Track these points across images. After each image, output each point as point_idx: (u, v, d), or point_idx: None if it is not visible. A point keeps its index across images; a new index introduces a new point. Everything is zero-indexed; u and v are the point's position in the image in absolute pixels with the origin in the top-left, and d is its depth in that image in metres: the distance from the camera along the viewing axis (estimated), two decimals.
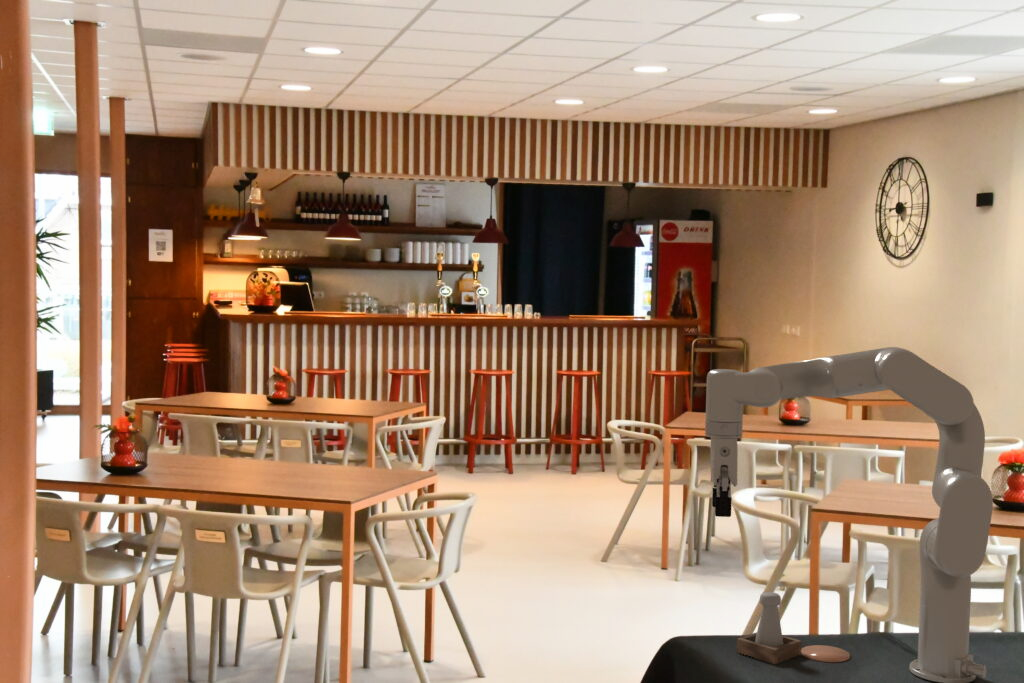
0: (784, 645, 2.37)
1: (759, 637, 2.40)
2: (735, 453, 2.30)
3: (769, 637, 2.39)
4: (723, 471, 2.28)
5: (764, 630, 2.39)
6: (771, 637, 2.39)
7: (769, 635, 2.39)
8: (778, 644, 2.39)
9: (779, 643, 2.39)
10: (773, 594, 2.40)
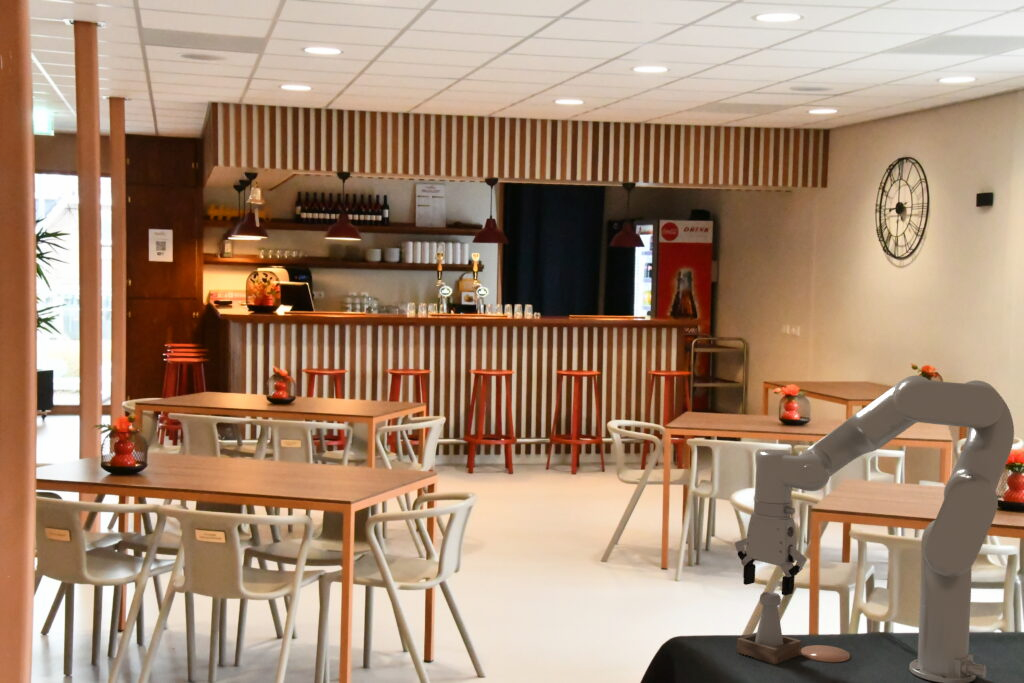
0: (784, 645, 2.37)
1: (759, 637, 2.40)
2: (795, 532, 2.38)
3: (769, 637, 2.39)
4: (795, 551, 2.35)
5: (764, 630, 2.39)
6: (771, 637, 2.39)
7: (769, 635, 2.39)
8: (778, 644, 2.39)
9: (779, 643, 2.39)
10: (773, 594, 2.40)
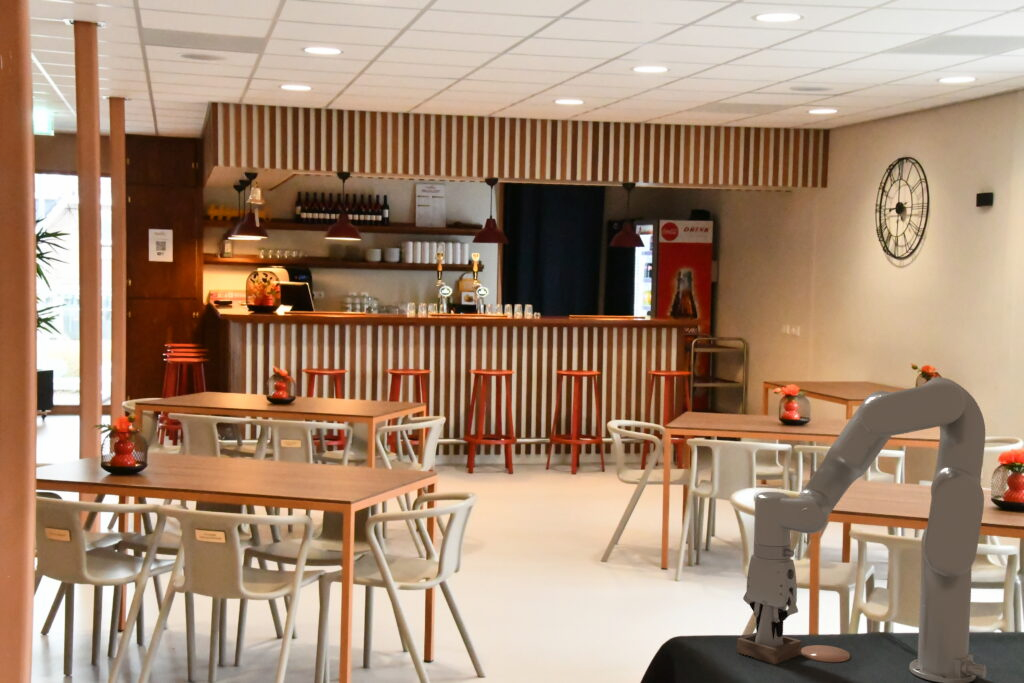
0: (784, 645, 2.37)
1: (759, 637, 2.40)
2: (795, 574, 2.39)
3: (769, 637, 2.39)
4: (791, 600, 2.36)
5: (764, 630, 2.39)
6: (771, 637, 2.39)
7: (769, 635, 2.39)
8: (778, 644, 2.39)
9: (779, 643, 2.39)
10: None
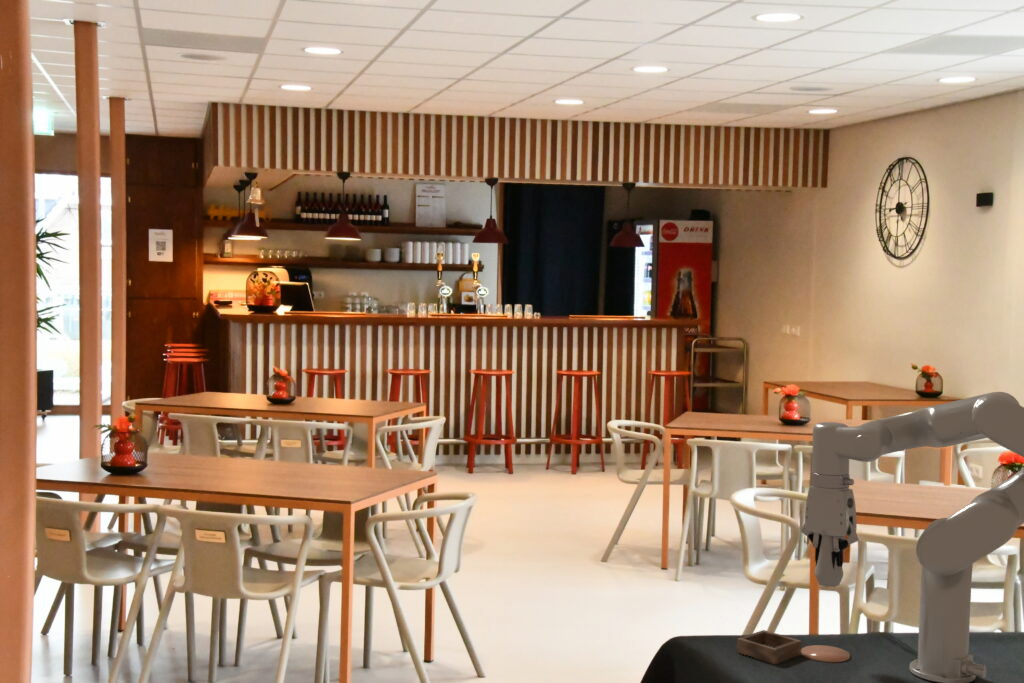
0: (784, 645, 2.37)
1: (819, 567, 2.39)
2: (854, 503, 2.38)
3: (829, 567, 2.38)
4: (852, 529, 2.36)
5: (824, 560, 2.38)
6: (832, 567, 2.38)
7: (829, 564, 2.38)
8: (838, 574, 2.38)
9: (839, 573, 2.38)
10: None
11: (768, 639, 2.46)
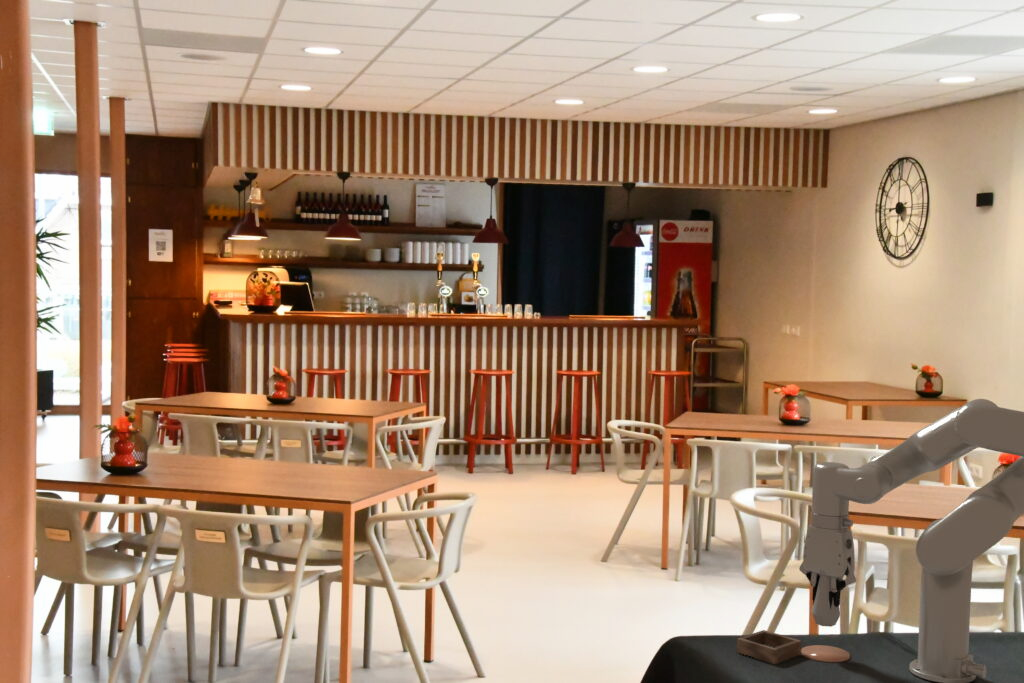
0: (784, 645, 2.37)
1: (816, 607, 2.40)
2: (853, 544, 2.38)
3: (826, 607, 2.38)
4: (850, 570, 2.36)
5: (821, 600, 2.39)
6: (829, 607, 2.38)
7: (826, 604, 2.39)
8: (835, 614, 2.39)
9: (836, 613, 2.39)
10: None
11: (768, 639, 2.46)
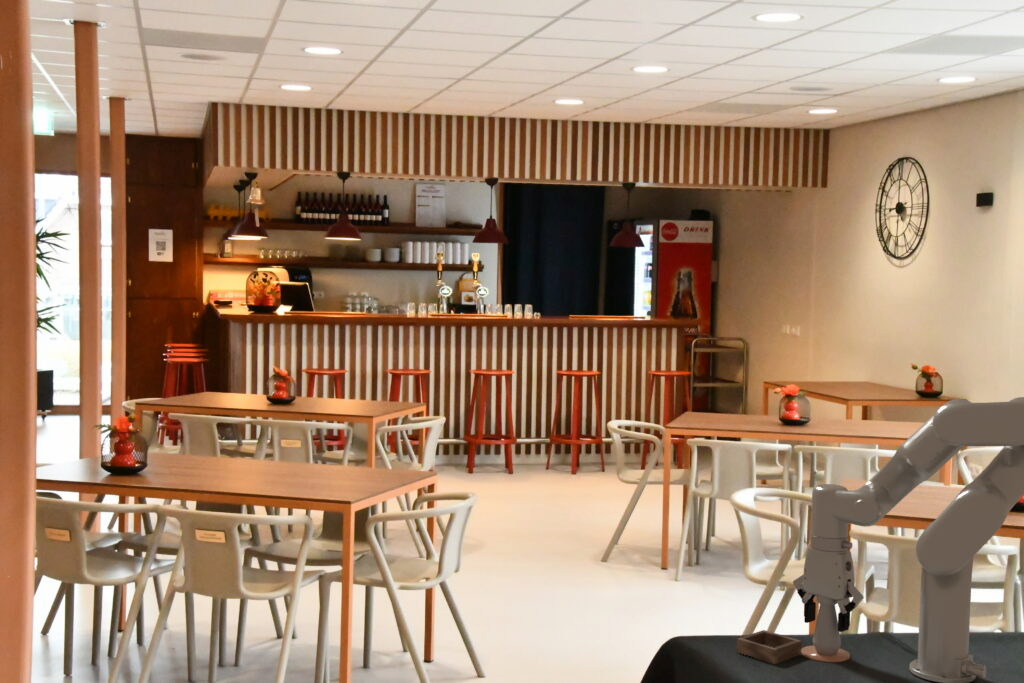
0: (784, 645, 2.37)
1: (817, 636, 2.40)
2: None
3: (827, 636, 2.39)
4: (853, 588, 2.36)
5: (822, 629, 2.39)
6: (829, 636, 2.39)
7: (826, 634, 2.39)
8: (836, 643, 2.39)
9: (837, 642, 2.39)
10: None
11: (768, 639, 2.46)
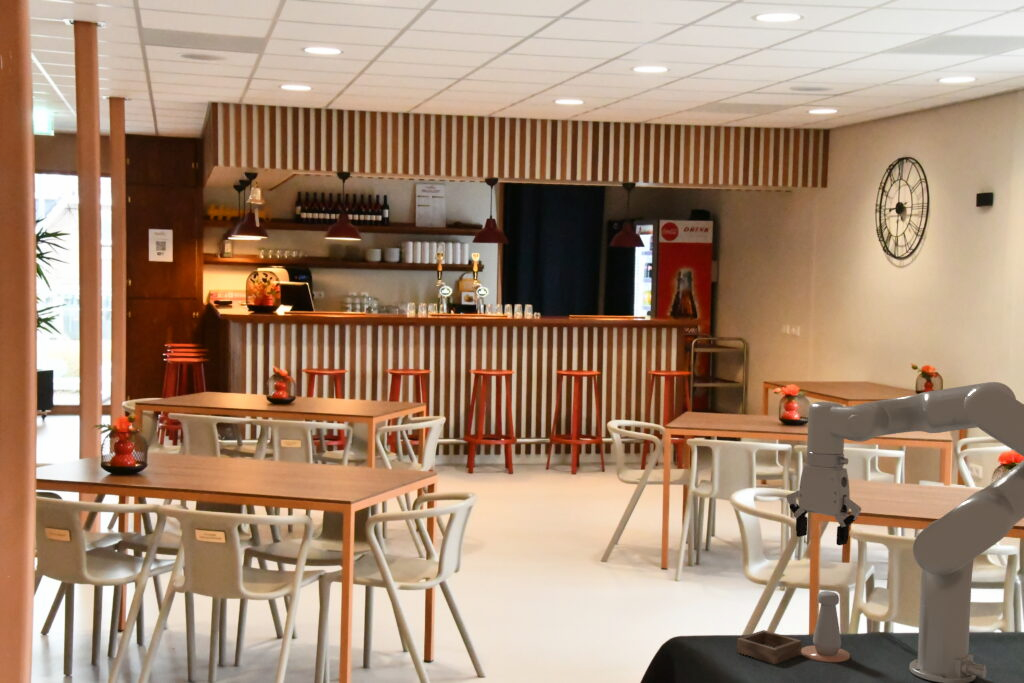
0: (784, 645, 2.37)
1: (817, 636, 2.40)
2: (848, 482, 2.40)
3: (827, 636, 2.39)
4: (850, 501, 2.37)
5: (822, 629, 2.39)
6: (830, 636, 2.38)
7: (827, 634, 2.39)
8: (836, 643, 2.39)
9: (837, 642, 2.39)
10: (831, 593, 2.40)
11: (768, 639, 2.46)
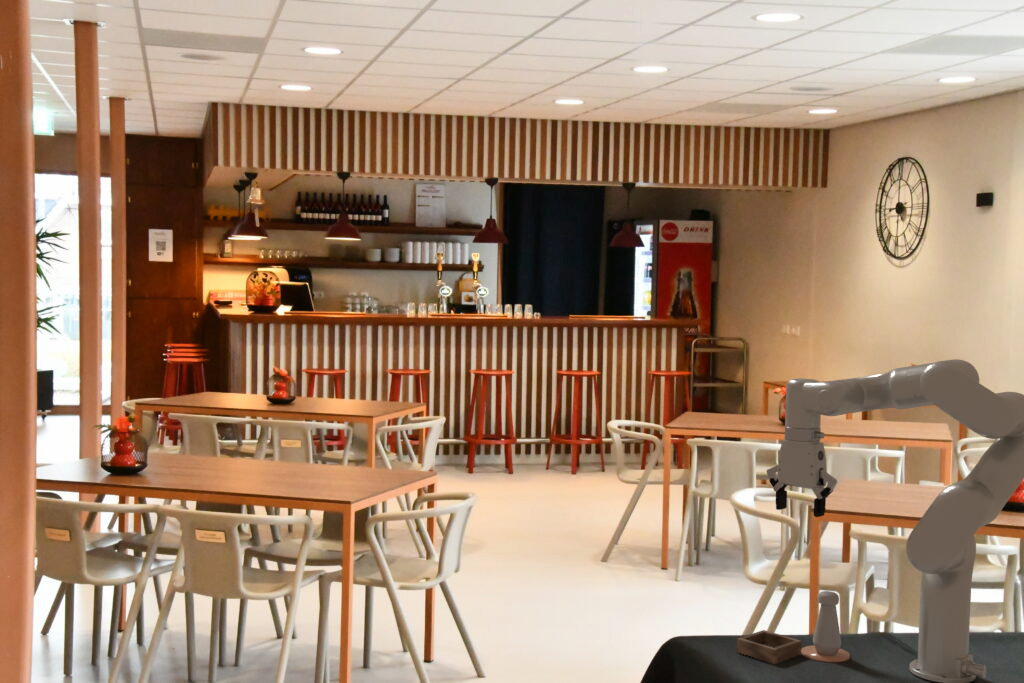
0: (784, 645, 2.37)
1: (817, 636, 2.40)
2: (825, 456, 2.48)
3: (827, 636, 2.39)
4: (826, 474, 2.45)
5: (822, 629, 2.39)
6: (830, 636, 2.38)
7: (827, 634, 2.39)
8: (836, 643, 2.39)
9: (837, 642, 2.39)
10: (831, 593, 2.40)
11: (768, 639, 2.46)
